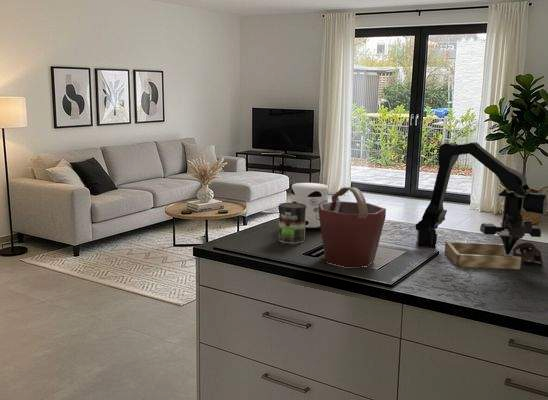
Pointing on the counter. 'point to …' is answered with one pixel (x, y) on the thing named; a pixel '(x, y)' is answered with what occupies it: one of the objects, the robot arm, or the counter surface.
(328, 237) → the bucket
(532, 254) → the pottery mug
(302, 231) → the coffee can
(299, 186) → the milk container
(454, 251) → the wooden frame
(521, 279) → the counter surface
